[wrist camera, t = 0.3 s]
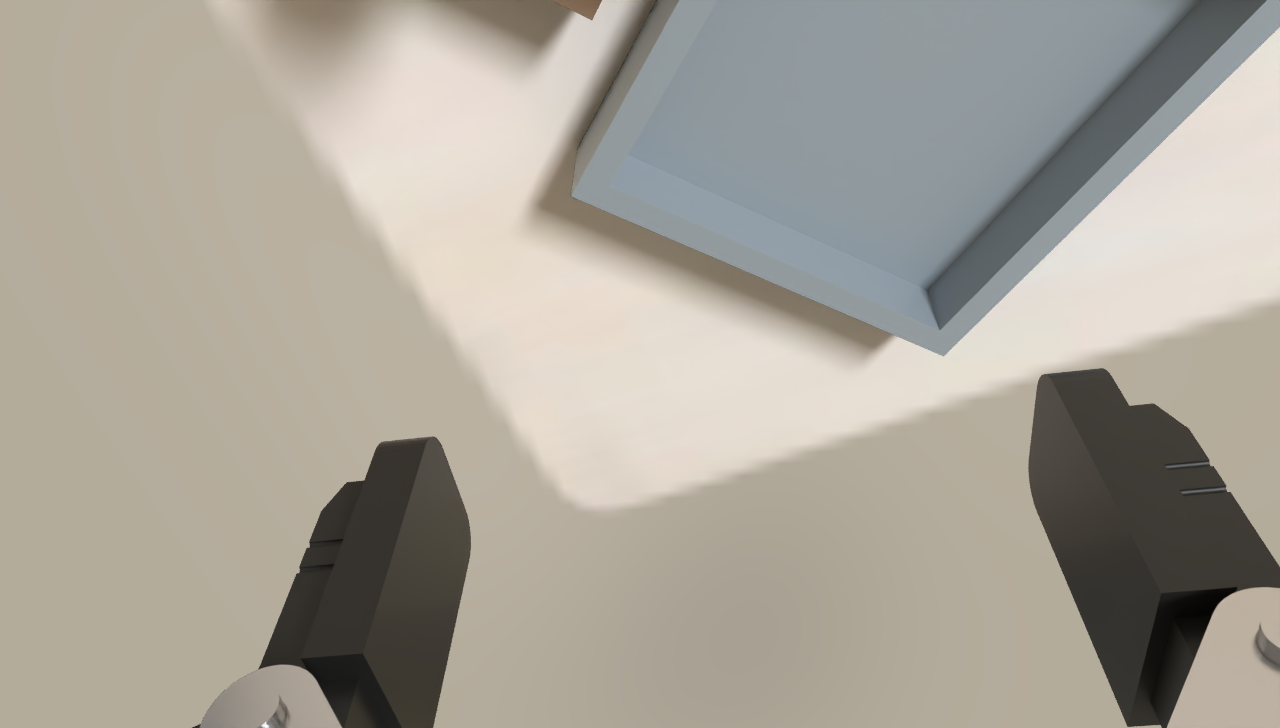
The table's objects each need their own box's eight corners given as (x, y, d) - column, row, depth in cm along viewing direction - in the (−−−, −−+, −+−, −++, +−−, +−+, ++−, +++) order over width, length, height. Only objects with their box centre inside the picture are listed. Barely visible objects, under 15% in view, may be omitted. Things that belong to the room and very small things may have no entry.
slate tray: (876, -413, 24) (897, -397, 22) (1317, -100, 29) (1369, -62, 27) (576, 149, 35) (570, 196, 33) (928, 306, 40) (943, 356, 38)
